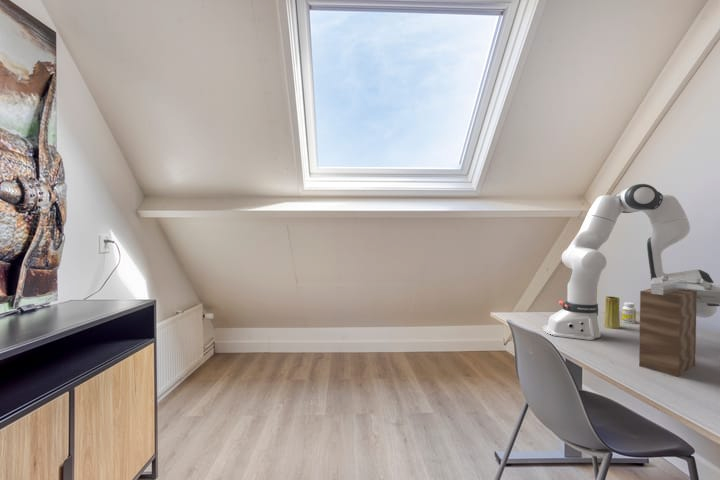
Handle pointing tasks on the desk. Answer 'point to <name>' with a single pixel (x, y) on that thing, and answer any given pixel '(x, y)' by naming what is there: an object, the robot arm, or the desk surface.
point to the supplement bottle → (628, 313)
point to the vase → (612, 313)
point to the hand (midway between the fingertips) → (681, 279)
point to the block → (668, 286)
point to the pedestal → (668, 331)
